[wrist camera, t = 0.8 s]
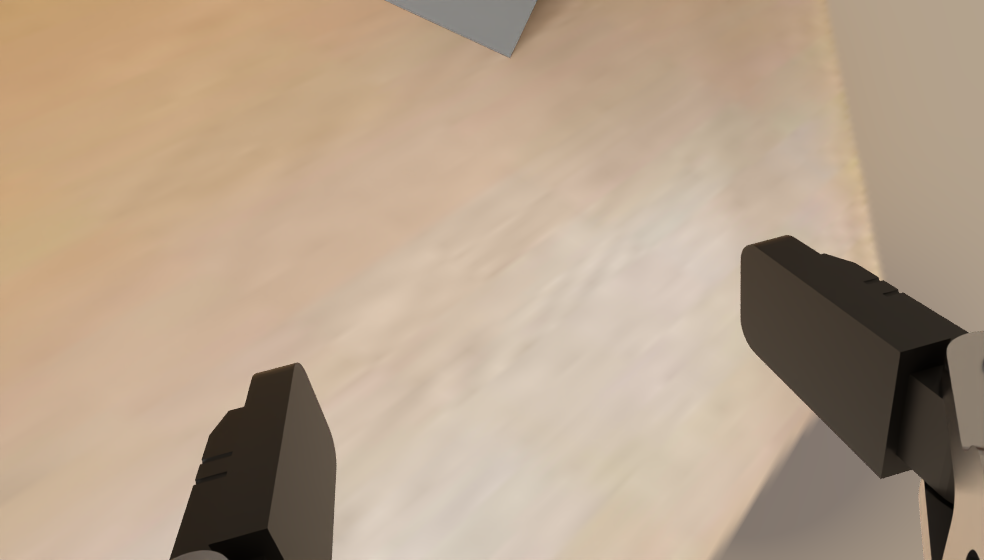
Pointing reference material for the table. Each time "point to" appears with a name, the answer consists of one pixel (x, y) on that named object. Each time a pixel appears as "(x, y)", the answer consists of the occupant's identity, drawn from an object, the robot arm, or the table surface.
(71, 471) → the table surface
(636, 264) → the table surface
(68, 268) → the table surface
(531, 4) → the tall grey box
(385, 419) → the table surface
